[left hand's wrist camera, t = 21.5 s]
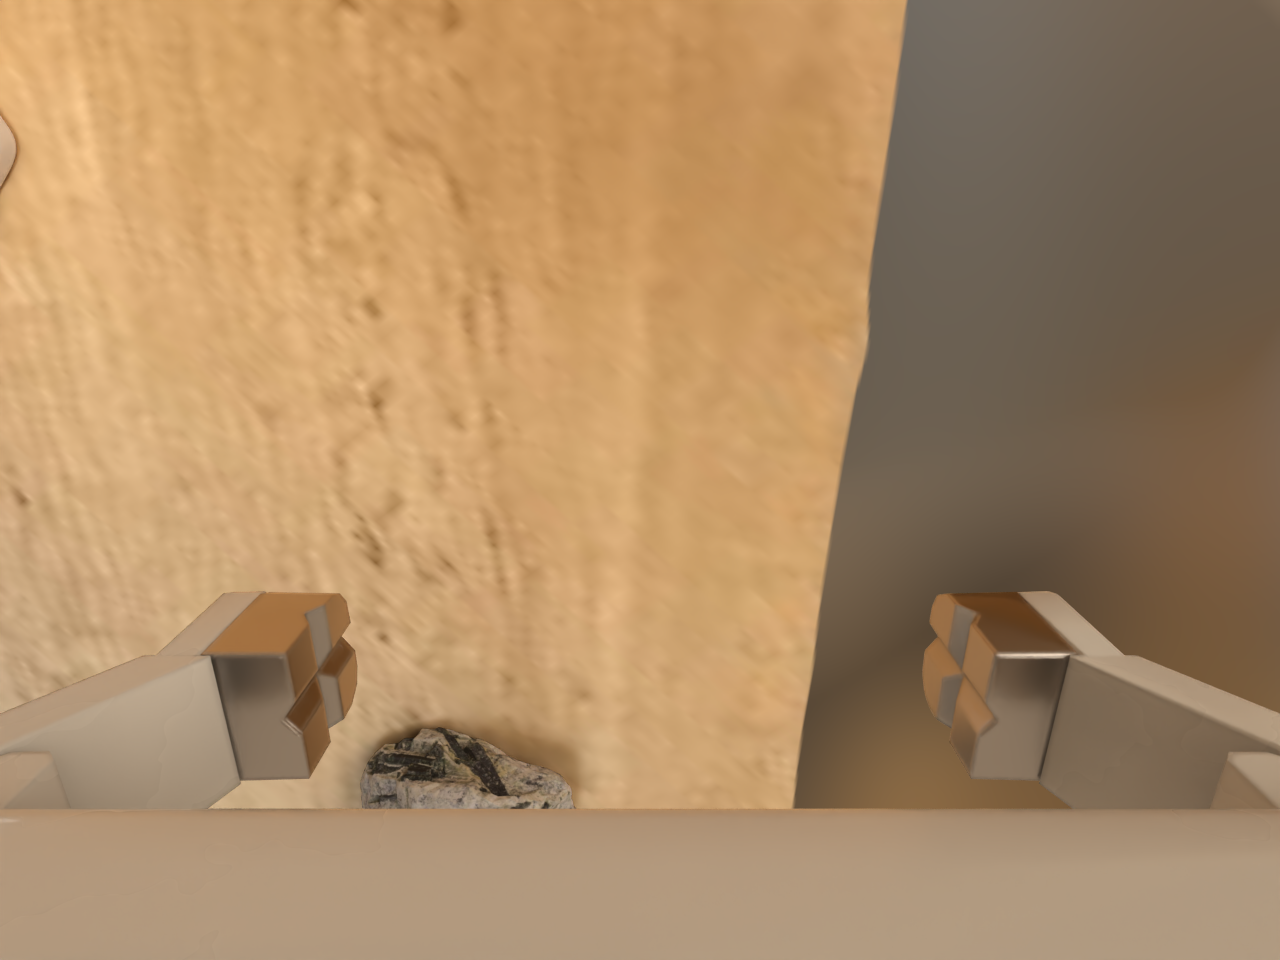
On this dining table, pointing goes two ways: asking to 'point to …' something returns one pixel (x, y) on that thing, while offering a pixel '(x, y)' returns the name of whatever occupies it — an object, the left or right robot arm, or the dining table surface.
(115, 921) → the left robot arm
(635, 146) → the dining table surface
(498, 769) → the rock
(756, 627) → the dining table surface
